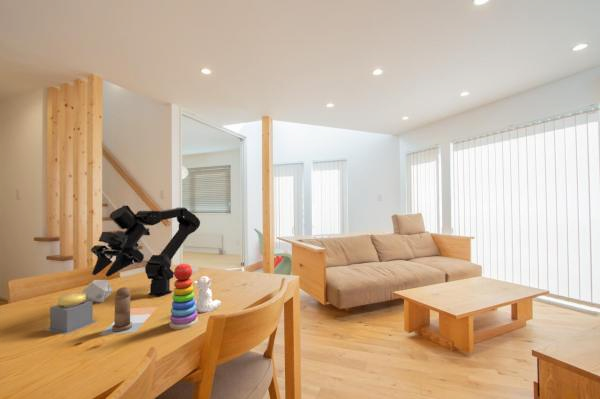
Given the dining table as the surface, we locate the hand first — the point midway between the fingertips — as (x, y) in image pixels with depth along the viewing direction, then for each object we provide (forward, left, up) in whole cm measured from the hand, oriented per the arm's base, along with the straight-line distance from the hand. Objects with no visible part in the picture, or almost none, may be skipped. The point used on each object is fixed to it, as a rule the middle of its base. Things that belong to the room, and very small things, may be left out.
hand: (100, 275), depth 89 cm
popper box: (+8, +1, -14) cm, 16 cm away
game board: (-2, +13, -14) cm, 19 cm away
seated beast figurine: (-19, +27, -14) cm, 36 cm away
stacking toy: (-7, +30, -14) cm, 34 cm away
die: (-9, -17, -14) cm, 24 cm away
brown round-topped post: (+3, +17, -13) cm, 21 cm away
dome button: (+8, +1, -11) cm, 14 cm away
